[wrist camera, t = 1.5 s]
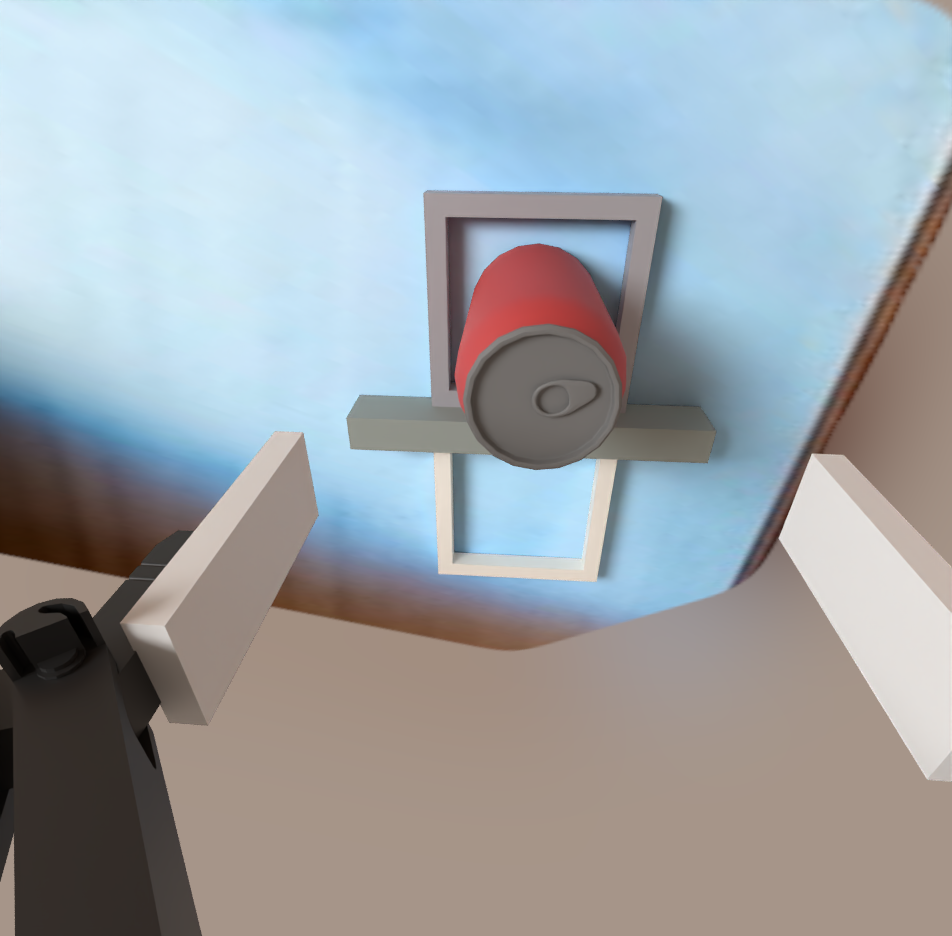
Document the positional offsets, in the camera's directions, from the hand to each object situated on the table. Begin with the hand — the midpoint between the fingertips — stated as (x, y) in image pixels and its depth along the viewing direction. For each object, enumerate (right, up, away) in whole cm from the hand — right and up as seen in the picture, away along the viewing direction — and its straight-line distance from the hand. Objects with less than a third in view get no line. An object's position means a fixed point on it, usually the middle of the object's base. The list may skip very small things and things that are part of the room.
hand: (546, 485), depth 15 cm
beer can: (+1, +9, +15) cm, 17 cm away
